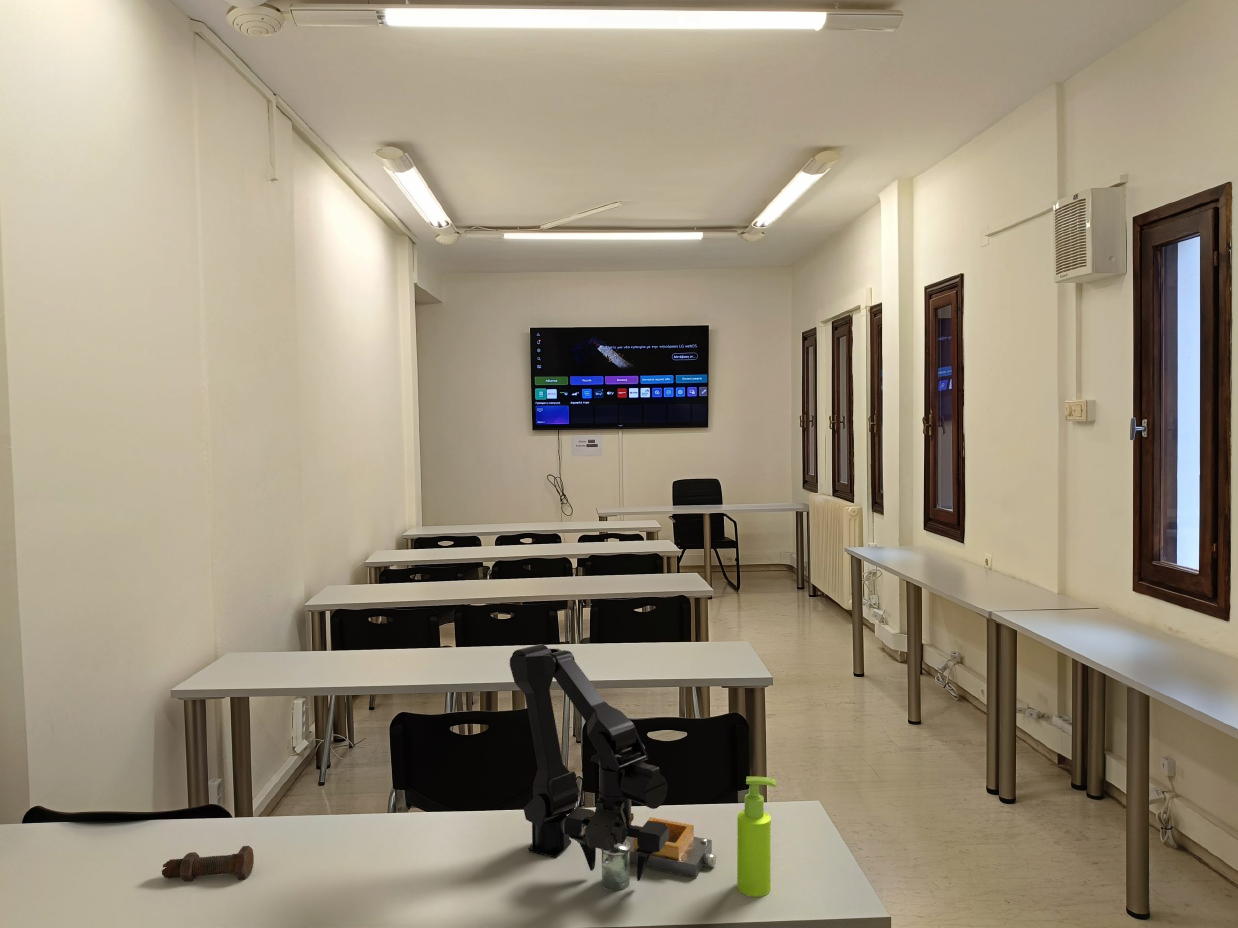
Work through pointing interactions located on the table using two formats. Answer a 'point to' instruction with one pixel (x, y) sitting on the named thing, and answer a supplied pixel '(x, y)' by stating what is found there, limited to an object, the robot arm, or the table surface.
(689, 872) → the grey orange socket fixture
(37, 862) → the table surface
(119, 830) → the table surface
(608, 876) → the spout can
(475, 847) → the table surface
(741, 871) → the soap dispenser
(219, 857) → the bolt
